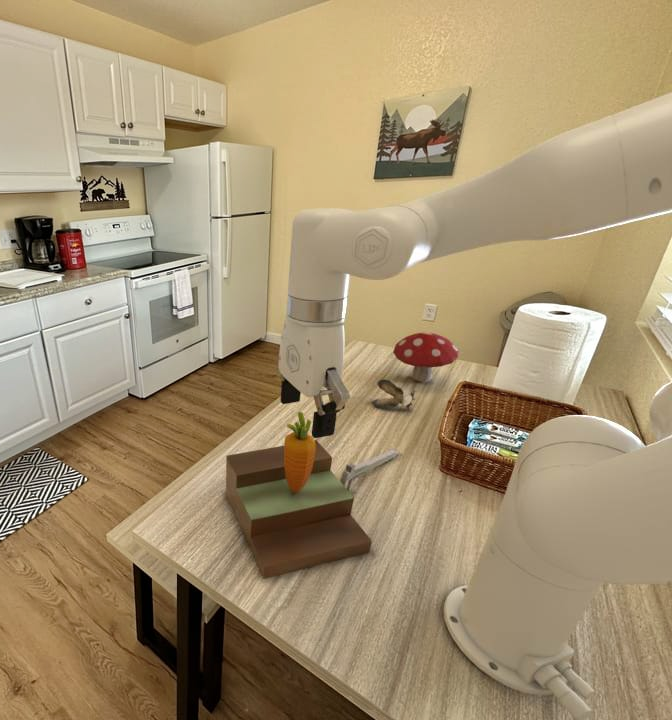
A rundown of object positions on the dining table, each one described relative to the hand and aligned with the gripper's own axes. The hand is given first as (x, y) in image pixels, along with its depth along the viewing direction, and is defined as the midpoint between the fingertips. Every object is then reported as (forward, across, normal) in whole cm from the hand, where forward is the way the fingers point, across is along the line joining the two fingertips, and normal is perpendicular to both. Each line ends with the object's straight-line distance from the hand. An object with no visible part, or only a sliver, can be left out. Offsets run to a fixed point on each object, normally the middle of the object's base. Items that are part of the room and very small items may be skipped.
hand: (305, 417), depth 58 cm
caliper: (+22, -8, +21) cm, 31 cm away
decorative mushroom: (+22, -39, +60) cm, 74 cm away
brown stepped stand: (+21, -1, 0) cm, 21 cm away
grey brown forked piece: (+21, -29, +43) cm, 56 cm away
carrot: (+15, 0, 0) cm, 15 cm away
